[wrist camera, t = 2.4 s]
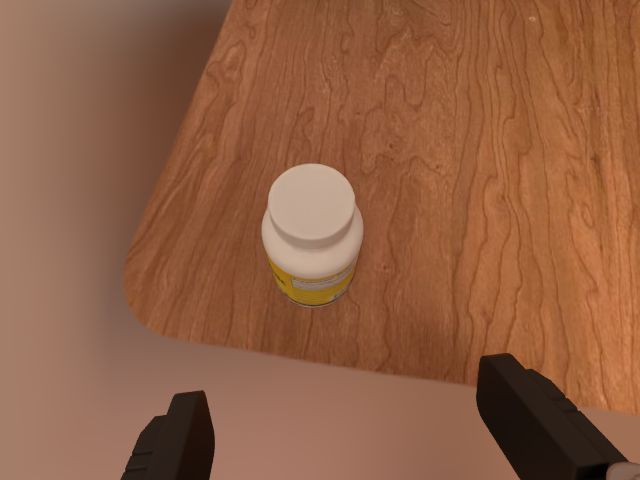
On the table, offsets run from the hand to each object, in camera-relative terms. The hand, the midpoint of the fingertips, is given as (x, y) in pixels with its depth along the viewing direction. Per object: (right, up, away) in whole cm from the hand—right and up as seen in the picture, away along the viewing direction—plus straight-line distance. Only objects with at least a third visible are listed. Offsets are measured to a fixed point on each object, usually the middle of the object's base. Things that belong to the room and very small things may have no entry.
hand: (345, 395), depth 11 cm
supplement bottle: (-1, +2, +15) cm, 15 cm away
